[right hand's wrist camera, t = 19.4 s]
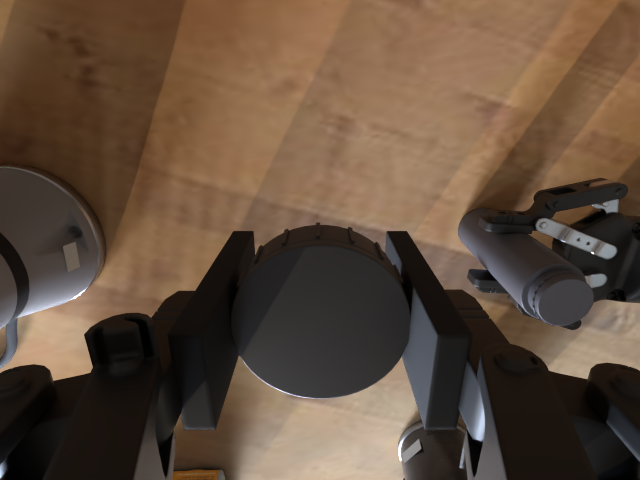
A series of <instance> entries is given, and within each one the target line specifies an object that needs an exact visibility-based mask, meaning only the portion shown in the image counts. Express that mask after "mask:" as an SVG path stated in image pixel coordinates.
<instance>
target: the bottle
mask: <svg viewBox="0 0 640 480" xmlns="http://www.w3.org/2000/svg"><path fill="white" fill-rule="evenodd" d="M490 211H493V210H491V209H488V208H479V209H475V210H473V211H471V212H469V213H468V214H466V215H465V216H464V217H463V219H462V220H461V222H460V224H459V228H458V235H459V238H460V240H461V242H462V243H463V244H464V245H465V246H466V247H467V248H468V249H469V250H470V252H471V253H472V254H473V255H474V256H475V257H476V258H477V259H478V260H479V261H480V262H481V263H482V265H483V266H484V267H485V268H486V269H487V270H488V271H489V272H490V273H491V274H492V275H493V276H494V278H495V279H496V280H497V281H498V282H499V283H500V284H501V285H502V286H503V287H504V288H505V289H506V291H507V292H508V293H509V294H510V295H511V296H512V297H513V298H514V299H515V300H516V301H517V302H518V304H519V305H520V306H521V307H522V308H523V309H524V310H525V311H526V312H527V313H528V314H529V315H531V316H533V317H535V318H538V319H540V320H542V321H543V322H545V323H547V324H550V325H552V326H559V327H561V326H566V325H569V324H572V323H575V322H577V321H578V320H580V319H582V318H583V317H584V316H585V315H586V314H587V313H588V312H589V310H590V309H591V307H592V305H593V301H594V294H593V290H592V288H591V287H590V285H589V284H587V282H586V278H585V276H584V274H583V273H582V271H581V270H580V269H578V268H577V267H576V266H574V265H573V264H571V263H570V262H568V261H567V260H565V259H564V258H562V257H561V256H559V255H558V254H556V253H555V252H554V251H552V250H551V249H549V248H548V247H546V246H545V245H543V244H542V243H540V242H539V241H537V240H536V239H534V238H533V237H532V236H530V235H529V234H522V233H503V232H489V231H486V230H484V229H483V228H482V227H481V226H479V225H478V224H479V219H480V216H487V215H488V212H490Z"/></svg>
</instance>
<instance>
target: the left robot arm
mask: <svg viewBox="0 0 640 480" xmlns="http://www.w3.org/2000/svg"><path fill="white" fill-rule="evenodd" d="M627 192H628V188H627V186H626V185H624V184H621V183H618V182H614V181H611V180H607V179H603V178H598V179H593V180H588V181H583V182H579V183H574V184H569V185H564V186H560V187H555V188H550V189H545V190H541V191H538V192H537V193H536V194H535V195H534V201H535V202H534V203H533V205H532V206H531V208H530V209H528V210H527V211H523V212H520V211H501V210H493V211H490V212H488V215H487V216H480V219H479V224H478V225H479V226H481V227H482V228H483V229H484V230H486V231H489V232H503V233H522V234H532V231H539V232H541V233H544V234H546V235H549V236H551V237H554V238H553V242H552V251H554V252H555V253H556V254H558V255H559V256H561V257H562V258H564V259H565V260H567V261H568V262H570V263H571V264H573V265H574V266H576V267H577V268H578V269H580V270H581V271H582V273H583V274H584V276H585V278H586V282H587V284H589V285H590V287H591V288H592V290H593V294H594V301H593V303H594V302H597V301H600V300H604V299H607V300H613V301H619V302H630V303H640V217H639V216H624V215H623V214H621V213H618V202H619V199H621V198H623V197H624V196H625V195H626V194H627ZM587 205H589V206H591V207H594V208H597V209H599V210H598V211H596V212H594V213H592V214H590V215H588V216H587V217H585V218H583V219H581V220H579V221H577V222H575V223H573V224H571V225H569V224H566V223H564V222H561V221H559V220H556V219H554V218H552V217H553V216H554V214H555V213H556V212H558V211H563V210H568V209H573V208H578V207H583V206H587ZM467 278H468V279H469V280H470V282H471V283H472V284H473V285H474V286H476V288H477V289H478V290H480V291H482V292H488V293H507V294H509V293H508V292H507V291H506V289H505V288H504V287H503V286H502V285H501V284H500V283H499V282H498V281H497V280H496V279H495V278H494V276H493V275H492V274H491V273H490V272H489V271H488V270H477V269H470V270H469V272H468V276H467ZM508 298H509V300H510V301H511V302H512V303H513V304H514V305H515V306H516V307H517V309H518V310H519V311H520V312H521V313H522V314H524V315H527V316H530V317H533V316H531V315H529V314H528V313H527V312H526V311H525V310H524V309H523V308H522V307H521V306H520V305H519V304H518V302H517V301H516V300H515V299H514V298H513V297H512V296H511V295H510V294H509V295H508ZM533 318H535V317H533ZM536 319H538V318H536ZM539 320H540V319H539ZM580 326H581V321H580V320H578V321H577V322H575V323H572V324H569V325H566V326H561V327H564V328H567V329H571V330H575V329H578V328H579V327H580ZM465 434H466V430H465V429H464V428H463V427H462V426H460V425H459V424H457V429H456V430H425V429H424V426H423V422H422V421H420V422H418V423H416V424H414V425H412V426H410V427H409V428H408V429H407V430H406V431H405V432H404V433H403V434H402V436H401V437H400V439H399V443H398V451H399V456H400V459H401V462H402V467H403V472H404V479H403V480H468V476H467V467H466V464H465V469H461V468H459V467H460V460H461V455H462V450H463V444H464V439H465Z"/></svg>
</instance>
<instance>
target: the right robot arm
mask: <svg viewBox="0 0 640 480" xmlns="http://www.w3.org/2000/svg"><path fill="white" fill-rule="evenodd" d="M105 250H106V248H105V240H104V235H103V232H102V228H101V226H100V223H99V221H98V219H97V217H96V215H95V214H94V212H93V210H92V209H91V208H90V206H89V205H88V204H87V202H86V201H85V200H84V199H83V198H82V197H81V196H80V195H79V194H78V193H77V192H76V191H75V190H74V189H73V188H72V187H70V186H69V185H68V184H66V183H65V182H64V181H62V180H60V179H59V178H57V177H55V176H53V175H51V174H49V173H47V172H45V171H42V170H40V169H36V168H33V167H29V166H23V165H1V166H0V329H1V328H3V327H4V326H6V340H7V346H6V350H5V352H4V354H3V355H2V357H1V358H0V368H2V367H3V366H4V365H6V364H7V363H8V362H9V361H10V360H11V358H12V357H13V355H14V354H15V351H16V348H17V318H18V317H21V316H24V315H28V314H31V313H34V312H37V311H40V310H43V309H46V308H49V307H53V306H57V305H60V304H63V303H65V302H68V301H69V300H71V299H73V298H75V297H77V296H78V295H80V294H81V293H82V292H84V291H85V290H86V289H87V288H89V287H90V286H91V285H92V284H93V283H94V282H95V281H96V279H97V278H98V276H99V275H100V273H101V271H102V268H103V265H104V261H105ZM385 254H386V256H387V257H388V258H389V260H390V261H391V263H392V265H394V264H396V266H397V269H398V271H399V273H400V275H401V277H402V280H403V282H404V284H402V287H403V289H404V291H405V293H406V296H407V299H408V302H409V305H410V310H411V320H410V330H409V339H408V344H407V346H406V348H405V351H404V353H403V355H402V359H403V362H404V365H405V368H406V371H407V374H408V378H409V381H410V384H411V387H412V390H413V394H414V397H415V400H416V403H417V406H418V410H419V413H420V416H421V419H422V422H423V426H424V429H425V430H456V429H457V423H458V417H459V412H460V413H461V416H462V418H463V420H464V422H465V425H466V427H467V429H466V434H465V439H464V444H463V450H462V455H461V460H460V467H459V468H461V469H465V464H466V467H467V476H468V480H640V371H639V370H637V369H635V368H632V367H628V366H625V365H621V364H613V363H602V364H596V365H595V366H594V367H593V368H591V370H590V373H589V376H588V379H583V378H578V377H573V376H568V375H564V374H559V373H555V372H551V371H549V370H548V368H547V366H546V365H545V363H544V362H543V361H542V359H541V358H539V357H538V356H536V355H535V354H534V353H532V352H531V351H529V350H526V349H524V348H522V347H520V346H516V345H512V344H510V343H509V342H508V341H507V339H506V338H505V337H504V335H503V334H502V333H501V331H500V330H499V329H498V327H497V326H496V325H495V324H494V322H493V321H492V320H491V319H489V316H488V314H487V313H486V312H485V310H483V308H482V307H481V305H480V304H479V303H478V301H477V300H476V299H475V298H474V297H472V296H471V295H469V294H468V293H466V292H465V291H463V290H444V289H443V287H442V286H441V284H440V282H439V281H438V279H437V278H436V276H435V275H434V273H433V271H432V270H431V268H430V267H429V265H428V264H427V262H426V261H425V259H424V257H423V256H422V254H421V253H420V251H419V250H418V248H417V246H416V245H415V243H414V242H413V240H412V239H411V237H410V236H409V234H408V232H407V231H387V235H386V250H385ZM254 256H255V246H254V232H253V231H233V233H232V234H231V236H230V237H229V239H228V241H227V242H226V244H225V245H224V247H223V248H222V250H221V252H220V253H219V255H218V256H217V258H216V259H215V261H214V262H213V264H212V266H211V267H210V269H209V270H208V272H207V273H206V275H205V277H204V278H203V280H202V281H201V283H200V284H199V286H198V287H197V289H196V291H178V292H176V293H175V294H173V295H171V296H170V297H168V298H167V299H165V301H164V302H163V303H162V305H161V306H160V307H159V308H158V311H156V312H155V314H154V315H153V316H152V318H151V317H149V316H148V315H146V314H141V313H125V314H120V315H116V316H112V317H110V318H107V319H104V320H102V321H100V322H98V323H97V324H95V325H94V326H92V327H91V328H90V329H89V330H88V331H87V332H86V333H85V334H84V336H85V340H86V343H87V347H88V351H89V354H90V358H91V362H92V365H93V369H92V371H91V373H88V374H84V375H80V376H75V377H70V378H65V379H61V380H56V381H53V378H52V375H51V372H50V370H49V369H48V368H46V367H45V366H42V365H34V364H33V365H25V366H19V367H15V368H13V369H8V370H5V371H3V372H1V373H0V480H172V477H173V468H174V459H175V451H176V440H175V434H174V427H175V425H176V423H177V420H178V418H179V416H180V414H181V416H182V422H183V427H184V430H215V429H216V426H217V423H218V420H219V417H220V414H221V410H222V407H223V404H224V401H225V398H226V394H227V391H228V388H229V385H230V382H231V378H232V375H233V372H234V369H235V366H236V362H237V359H238V356H239V354H238V352H237V350H236V347H235V345H234V342H233V338H232V334H231V326H230V316H231V309H232V304H233V301H234V298H235V296H236V293H237V291H238V289H237V288H236V285H237V283H238V281H239V278H240V276H241V274H242V272H243V269H244V268H245V269H247V267H248V265H249V264H250V262H251V260H252V259H253V257H254Z"/></svg>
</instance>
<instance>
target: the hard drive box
mask: <svg viewBox="0 0 640 480" xmlns="http://www.w3.org/2000/svg"><path fill="white" fill-rule="evenodd" d="M172 480H225V476H224V473H223V470H201V469H198V470H190V471H173V477H172Z"/></svg>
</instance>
